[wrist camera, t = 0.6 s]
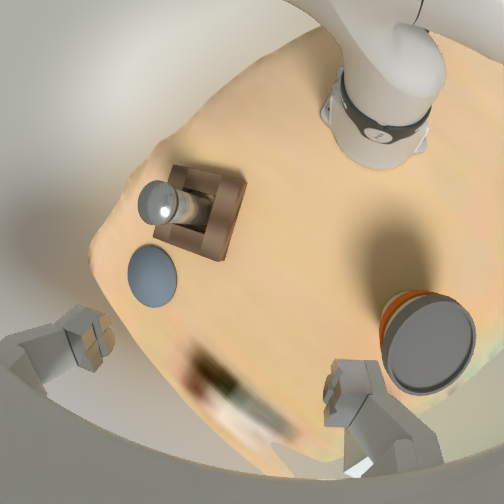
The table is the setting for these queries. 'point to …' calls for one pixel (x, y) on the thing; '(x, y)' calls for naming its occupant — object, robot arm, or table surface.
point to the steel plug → (172, 205)
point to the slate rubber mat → (152, 276)
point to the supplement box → (354, 456)
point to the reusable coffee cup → (425, 341)
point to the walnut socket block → (221, 216)
